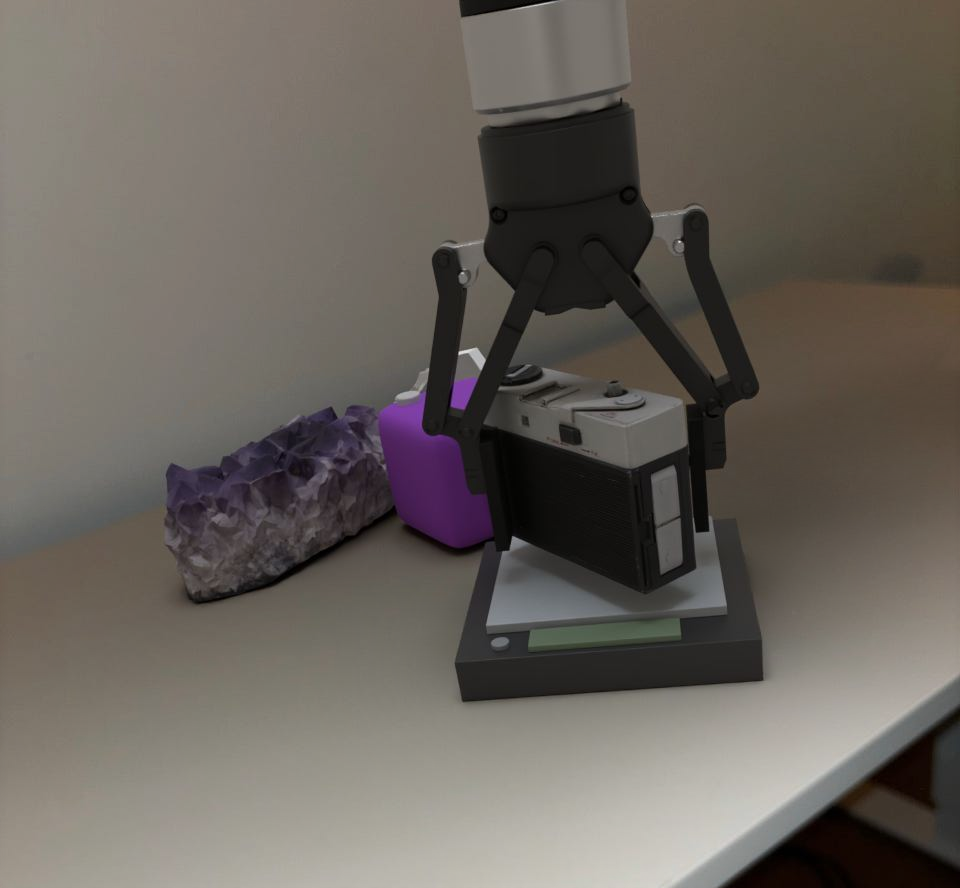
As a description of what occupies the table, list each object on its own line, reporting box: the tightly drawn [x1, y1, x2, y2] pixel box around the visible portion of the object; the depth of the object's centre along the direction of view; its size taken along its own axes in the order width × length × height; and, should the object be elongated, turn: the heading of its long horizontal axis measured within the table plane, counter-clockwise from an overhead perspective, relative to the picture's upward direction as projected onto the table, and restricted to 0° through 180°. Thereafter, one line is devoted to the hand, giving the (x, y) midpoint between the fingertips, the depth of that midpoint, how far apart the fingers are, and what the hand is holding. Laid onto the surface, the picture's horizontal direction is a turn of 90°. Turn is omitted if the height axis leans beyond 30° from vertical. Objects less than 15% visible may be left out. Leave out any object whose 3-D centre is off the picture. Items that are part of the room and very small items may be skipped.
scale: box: [454, 515, 764, 702], centre depth 62 cm, size 16×15×3 cm
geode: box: [163, 404, 395, 603], centre depth 79 cm, size 20×12×10 cm, turn 146°
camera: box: [483, 364, 697, 595], centre depth 59 cm, size 14×9×10 cm, turn 27°
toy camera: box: [378, 378, 494, 549], centre depth 77 cm, size 11×14×10 cm
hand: (601, 532), depth 61 cm, fingers closed on camera, 10 cm apart
